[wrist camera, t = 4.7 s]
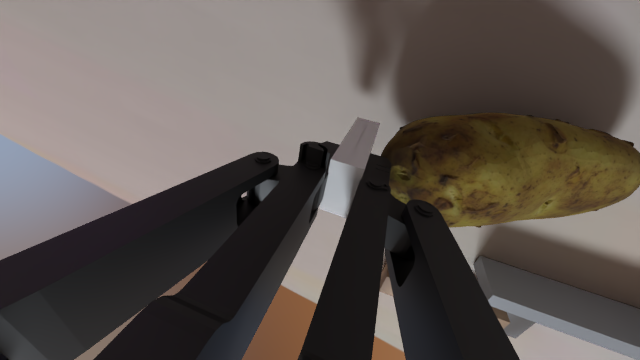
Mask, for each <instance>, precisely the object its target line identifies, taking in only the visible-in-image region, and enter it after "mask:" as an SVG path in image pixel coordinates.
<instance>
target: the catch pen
mask: <svg viewBox="0 0 640 360" xmlns="http://www.w3.org/2000/svg"><path fill="white" fill-rule="evenodd" d="M473 265H474V268H475V272H476V275H477V279H478V282H479V285H480V287H481V288H482V290H483V292H484V294H485V296H486V298H487V300H488V301H489V303H490V305H491V306H492V307H495V308H497V309H500V310H503V311H505V312H508V313H511V314H514V315H516V316H519V317H522V318H525V319H527V320H530V321H533V322H536V323H538V324H541V325H544V326H546V327H549V328H552V329H555V330H557V331H560V332H563V333H566V334H568V335H571V336H574V337H576V338H579V339H582V340H585V341H587V342H590V343H593V344H596V345H598V346H601V347H604V348H606V349H609V350H612V351H615V352H617V353H620V354H623V355H626V356H628V357H631V358H634V359H637V360H640V309H638V308H635V307H632V306H629V305H626V304H623V303H620V302H617V301H614V300H611V299H608V298H605V297H602V296H599V295H596V294H593V293H590V292H587V291H584V290H581V289H578V288H575V287H572V286H569V285H566V284H563V283H560V282H557V281H554V280H551V279H548V278H546V277H543V276H540V275H537V274H534V273H531V272H528V271H525V270H522V269H519V268H516V267H513V266H510V265H507V264H504V263H501V262H498V261H495V260H492V259H489V258H486V257H483V256H480V257H479V258H478V259H477V260H476V262H475V263H474V264H473Z"/></svg>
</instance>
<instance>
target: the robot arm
mask: <svg viewBox="0 0 640 360" xmlns="http://www.w3.org/2000/svg"><path fill="white" fill-rule="evenodd" d="M379 125H380V123H377V122H373V121H369V120H366V119H362V118H357V120H356V121H355V123H354V124H353V126H352V127H351V129H350V130H349V132H348V133H347V135H346V136H345V138H344V140H343V141H342V143H341V144H340V145H338V144H335V143H331V142H328V141H326V142H323V143H318V142H303V143H302V144H301V145H300V152H299V159H298V162H297V163H296V164H295V165H294V166H285V165H279V159H278V157H277V156H275V155H274V154H271V153H268V152H256V153H252V154H250V155H247V156H245V157H243V158H240V159H238V160H236V161H233V162H231V163H229V164H226V165H224V166H221V167H219V168H217V169H214V170H212V171H210V172H207V173H205V174H203V175H200V176H198V177H196V178H193V179H191V180H188V181H186V182H184V183H181V184H179V185H177V186H174V187H172V188H170V189H167V190H165V191H163V192H160V193H158V194H155V195H153V196H151V197H148V198H146V199H144V200H141V201H139V202H137V203H134V204H132V205H130V206H127V207H125V208H122V209H120V210H118V211H116V212H113V213H111V214H108V215H106V216H104V217H101V218H99V219H97V220H94V221H92V222H89V223H87V224H85V225H82V226H80V227H78V228H75V229H73V230H71V231H68V232H66V233H64V234H61V235H59V236H57V237H54V238H52V239H50V240H47V241H45V242H42V243H40V244H38V245H36V246H33V247H31V248H28V249H26V250H23V251H21V252H19V253H17V254H14V255H12V256H9V257H7V258H5V259H2V260H0V360H74V359H75V358H77V357H78V356H80V355H81V354H82V353H84V352H85V351H87V350H88V349H90V348H91V347H92V346H94V345H95V344H96V343H98V342H99V341H100V340H102V339H103V338H104V337H106V336H107V335H108V334H110V333H111V332H112V331H114V330H115V329H116V328H118V327H119V326H120V325H122V324H123V323H124V322H126V321H127V320H128V319H130V318H131V317H132V316H134V315H135V314H137V313H138V312H139V311H141V310H142V309H143V308H144V309H143V310H142V311H141V312H140V313H139V314H138V315H137V316H136V317H135V318H134V319H133V320H132V321H131V322H130V323H129V324H128V325H127V326H126V327H125V328H124V329H123V330H122V331H121V332H120V333H119V334H118V335H117V336H116V337H115V338H114V339H113V341H111V342H110V343H109V344H108V345H107V347H106V348H104V350H102V352H101V353H100V354H99V355H98V356H97V357H96V358H95V359H94V360H241V359H242V358H243V356H244V354H245V352H246V350H247V348H248V346H249V344H250V342H251V340H252V338H253V337H254V335H255V333H256V331H257V329H258V327H259V325H260V323H261V321H262V319H263V317H264V315H265V313H266V312H267V309H268V307H269V306H270V304H271V302H272V300H273V298H274V296H275V294H276V292H277V290H278V288H279V287H280V285H281V283H282V281H283V279H284V277H285V275H286V273H287V271H288V269H289V267H290V265H291V264H292V262H293V260H294V258H295V256H296V254H297V252H298V250H299V248H300V246H301V244H302V242H303V240H304V239H305V237H306V235H307V233H308V231H309V229H310V227H311V225H312V223H313V221H314V219H315V217H316V215H317V211H318V207H319V205H320V203H321V205H320V209H321V210H324V211H327V212H330V213H333V214H335V215H338V216H341V217H344V218H347V219H346V222H345V225H344V228H343V231H342V234H341V237H340V240H339V243H338V246H337V248H336V251H335V254H334V257H333V260H332V263H331V266H330V269H329V272H328V275H327V277H326V280H325V283H324V286H323V289H322V292H321V295H320V298H319V301H318V304H317V306H316V309H315V312H314V316H313V318H312V321H311V324H310V327H309V330H308V333H307V336H306V338H305V342H304V345H303V347H302V350H301V353H300V355H299V358H298V360H371V359H372V350H373V342H374V333H375V324H376V316H377V307H378V298H379V290H380V281H381V272H382V264H383V255H384V248H385V256H386V262H387V267H388V272H389V277H390V282H391V287H392V292H393V297H394V302H395V307H396V312H397V317H398V322H399V327H400V333H401V338H402V343H403V348H404V353H405V358H406V360H520V359H519V357H518V355H517V353H516V352H515V350H514V348H513V346H512V344H511V342H510V340H509V339H508V337H507V335H506V333H505V331H504V329H503V327H502V326H501V324H500V322H499V320H498V318H497V316H496V314H495V313H494V311H493V309H492V307H491V305H490V303H489V301H488V300H487V298H486V296H485V294H484V292H483V290H482V288H481V287H480V285H479V283H478V281H477V279H476V277H475V276H474V274H473V272H472V270H471V268H470V266H469V264H468V263H467V261H466V259H465V257H464V255H463V253H462V251H461V250H460V248H459V246H458V244H457V242H456V240H455V238H454V237H453V235H452V233H451V231H450V229H449V227H448V225H447V224H446V222H445V220H444V218H443V216H442V214H441V213H440V211H439V210H438V209H437V208H436V207H434V206H433V205H432V204H430V203H428V202H426V201H422V200H417V199H413V200H409V201H408V202H407V204H405V203H403V202H401V201H399V200H398V199H396V198H395V197H394V196H392V194H391V188H390V186H389V179H390V171H391V162H390V161H389V159H388V158H385V157H381V156H378V155H374V154H371V150H372V147H373V144H374V140H375V137H376V134H377V131H378V128H379ZM246 191H247V196H245V197H243V198H241V195H242V194H243V193H245V192H246ZM206 261H207V262H206ZM205 262H206V263H205ZM204 263H205V264H204ZM202 264H204V266H203V267H202V268H201V269H200V270H199V271H198V272H197V273H196V274H195V276H194V277H193V278H192V279H191V280H190V281H189V282H188V283H187V284H186V285H185V287H184V288H183V289H182V290H180V291H179V292H178V293H177V294H175V295H173V296H162V297H160V298H158V297H159V296H160V295H162V294H163V293H165V292H166V291H167V290H169V289H170V288H171V287H173V286H174V285H175V284H177V283H178V282H179V281H181V280H182V279H184V278H185V277H186V276H187V275H189V274H190V273H191V272H193V271H194V270H196V269H197V268H198V267H200V266H201V265H202ZM155 299H156V300H155ZM147 305H148V306H147Z"/></svg>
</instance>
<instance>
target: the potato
mask: <svg viewBox="0 0 640 360" xmlns="http://www.w3.org/2000/svg"><path fill="white" fill-rule="evenodd" d="M633 146H634V143H632V142H628V141H625V140H620V139H618V138H615V137H613V136H611V135H610V134H607V133H605V132H602V131H598V130H594V129H584V128H581V127H578V126H574V125H570V124H569V123H568V122H563V121H561V120H558V119H556V120H550V119H545V118H538V117H534V116H531V115H526V116H523V115H515V114H507V113H477V114H469V115H449V116H437V117H429V118H425V119H421V120H417V121H414V122H411V123H410V124H408V125H406V126H404V127H400V130H399V131H398V132H397V133H396V135H395V136H394V137H393V138H392V139H391V140H390V141H389V143H388V144H387V145H386V147H385V148H384V150H383V152H382V154H381V157H385V158H388V159H389V161H390V162H391V171H390V179H389V186H390V188H391V194H392V196H394V197H395V198H396V199H398V200H399V201H401V202H403V203H405V204H407V202H408V201H409V200H413V199H417V200H422V201H426V202H428V203H430V204H432V205H433V206H434V207H436V208H437V209H438V210H439V211H440V213H441V214H442V216H443V218H444V220H445V222H446V224H447V225H448V227H463V226H476V227H481V226H483V225H492V224H499V223H506V222H511V221H517V220H529V219H545V218H556V217H564V216H570V215H575V214H580V213H585V212H589V211H597V210H599V209H601V208H604V207H607V206H609V205H612V204H615V203H617V202H619V201H621V200H624V199H625V198H627V197H628V196H630V195H631V194H632V193H633V192H634V191H635V190H636V189H637V188H638V187H639V185H640V153H639V152H638V151H637V150H636V149H635V148H634V147H633Z"/></svg>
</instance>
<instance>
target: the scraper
mask: <svg viewBox="0 0 640 360" xmlns="http://www.w3.org/2000/svg"><path fill="white" fill-rule="evenodd" d="M379 291H380V292H383V293H385V294H388V295H391V296H393V292H392V287H391V282H390V277H389V272H388V267H387V263H386V265H385V267H384V269H383V271H382V273H381V281H380V290H379ZM491 307H492V306H491ZM492 309H493V311H494V313H495V314H496V316H497V318H498V320H499V322H500V324H501V326H502V327H503V329H504V331H505V333H506V335H508V336H510V337H513V338H517V337H518V336H519V335H520V334H522V333H523V332H524V331H526V330H527V329H528V328H529V327H531V326H532V325H533V324H534V323H536V322H533V321H530V320H527V319H525V318H522V317H519V316H516V315H514V314H511V313H508V312H505V311H503V310H500V309H497V308H495V307H492Z"/></svg>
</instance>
